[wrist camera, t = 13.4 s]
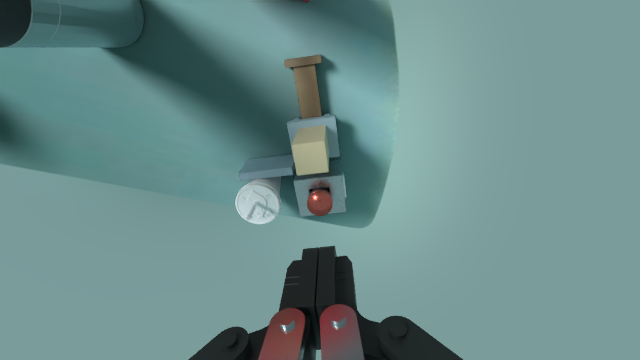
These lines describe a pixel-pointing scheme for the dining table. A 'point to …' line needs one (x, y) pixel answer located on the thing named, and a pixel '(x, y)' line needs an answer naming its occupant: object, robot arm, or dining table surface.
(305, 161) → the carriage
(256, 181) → the smoothie
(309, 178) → the gauge cabinet
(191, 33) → the dining table surface
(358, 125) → the dining table surface
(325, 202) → the gauge button
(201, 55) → the dining table surface
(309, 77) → the rail
